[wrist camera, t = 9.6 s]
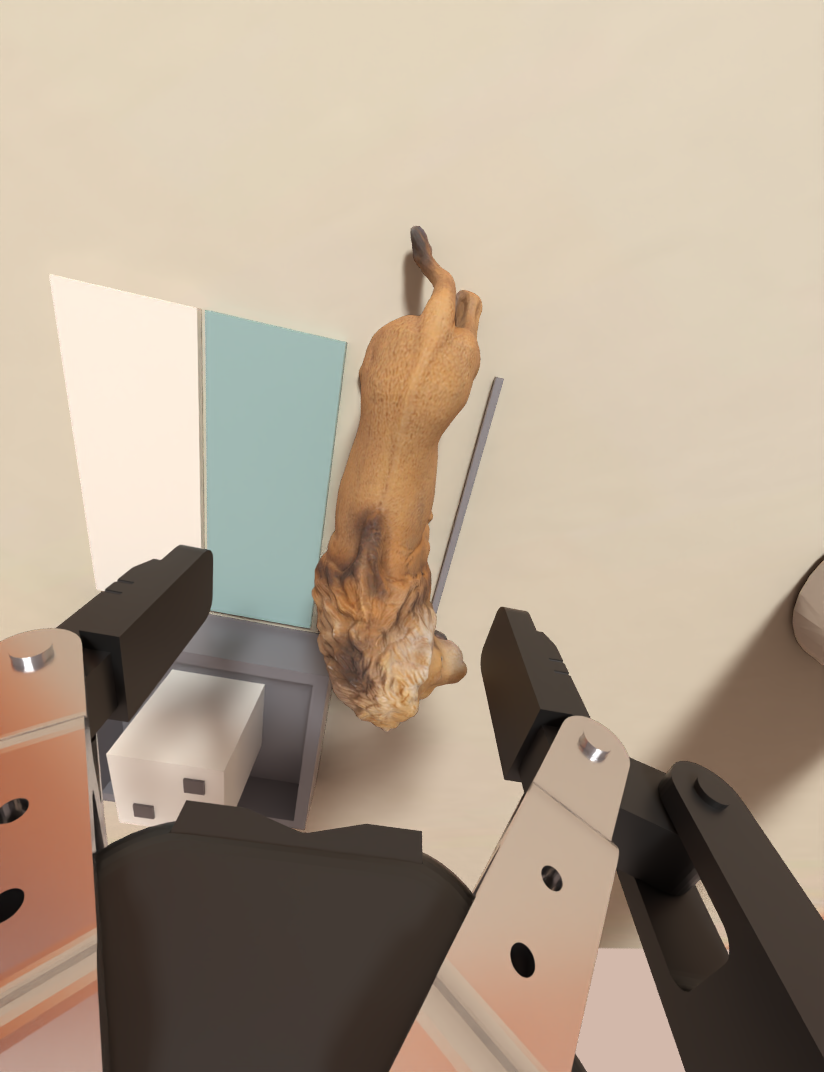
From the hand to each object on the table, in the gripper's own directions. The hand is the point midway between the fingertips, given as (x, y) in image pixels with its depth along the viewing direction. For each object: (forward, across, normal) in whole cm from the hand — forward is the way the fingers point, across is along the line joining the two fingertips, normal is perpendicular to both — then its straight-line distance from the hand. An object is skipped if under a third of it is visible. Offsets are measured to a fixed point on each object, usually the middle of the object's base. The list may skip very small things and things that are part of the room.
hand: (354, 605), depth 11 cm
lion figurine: (+8, -1, -3) cm, 8 cm away
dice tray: (+8, +7, +14) cm, 17 cm away
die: (+7, +6, +14) cm, 17 cm away
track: (+8, +5, 0) cm, 9 cm away
